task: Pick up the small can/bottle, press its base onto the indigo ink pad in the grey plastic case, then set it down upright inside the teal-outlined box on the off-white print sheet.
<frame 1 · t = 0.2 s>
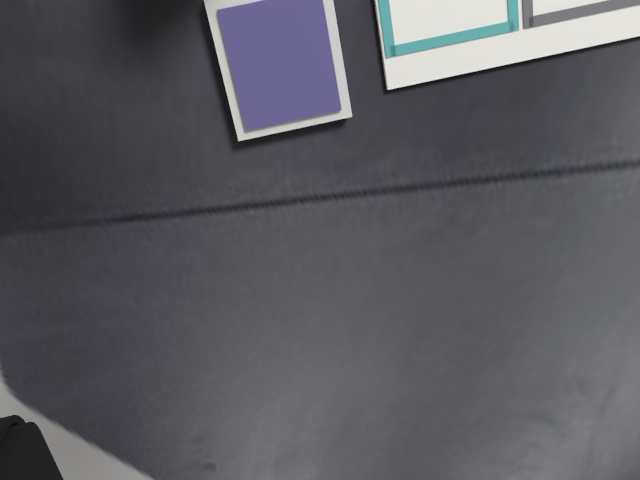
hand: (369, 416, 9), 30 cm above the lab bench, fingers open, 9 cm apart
ink pad: (280, 59, 36), on the lab bench
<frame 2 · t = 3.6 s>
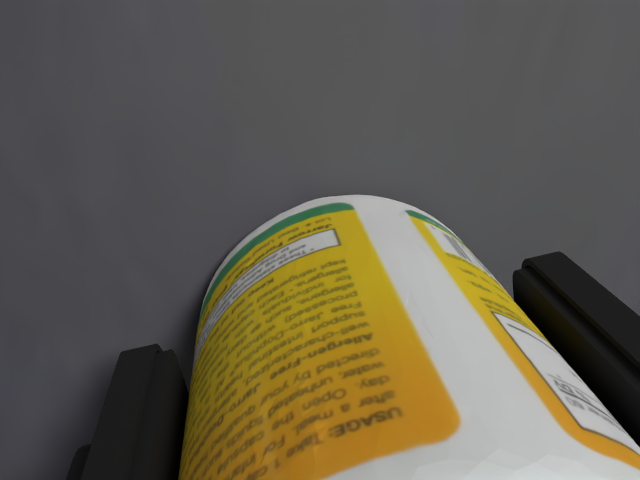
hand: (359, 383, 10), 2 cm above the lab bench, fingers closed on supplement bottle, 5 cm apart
supplement bottle: (338, 315, 12), on the lab bench, touching gripper
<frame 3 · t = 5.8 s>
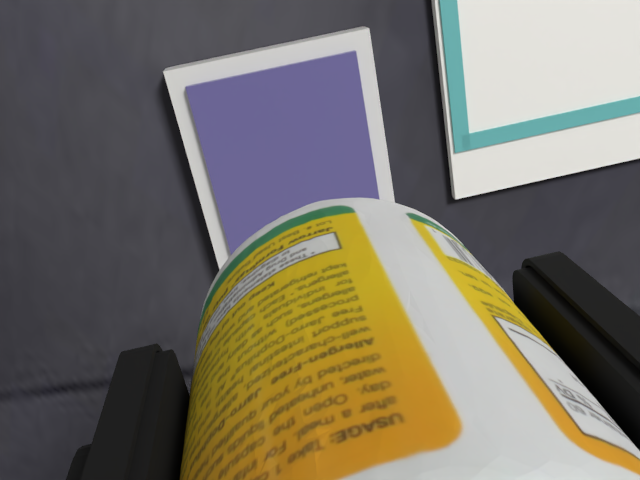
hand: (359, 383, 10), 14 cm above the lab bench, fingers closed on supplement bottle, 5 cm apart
ink pad: (289, 156, 23), on the lab bench
supplement bottle: (339, 318, 12), point 12 cm above the lab bench, touching gripper
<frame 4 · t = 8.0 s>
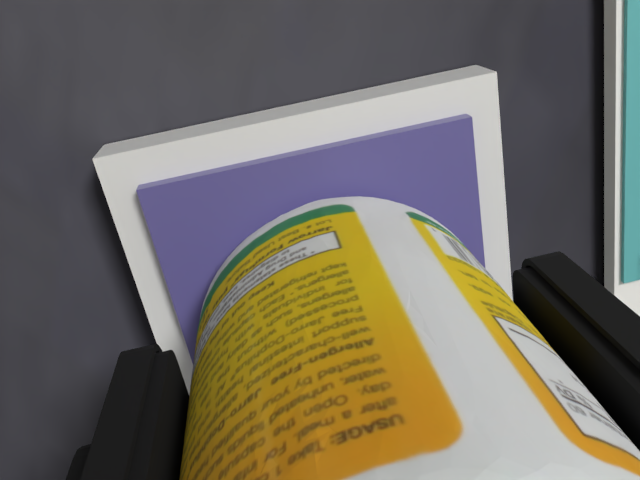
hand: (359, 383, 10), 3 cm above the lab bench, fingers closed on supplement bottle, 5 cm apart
ink pad: (330, 292, 13), on the lab bench
supplement bottle: (338, 316, 12), point 1 cm above the lab bench, touching gripper, ink pad
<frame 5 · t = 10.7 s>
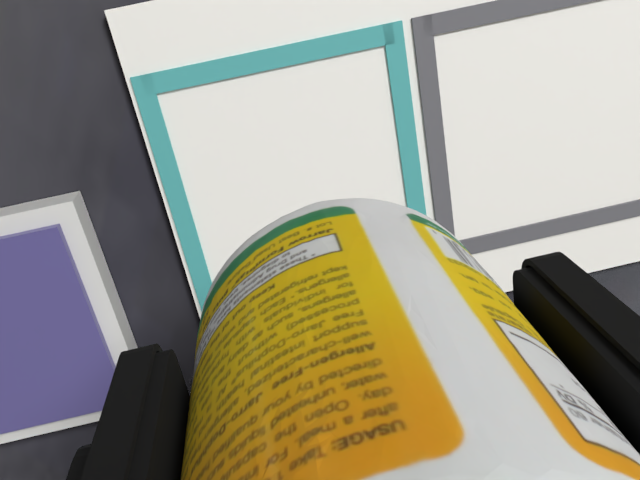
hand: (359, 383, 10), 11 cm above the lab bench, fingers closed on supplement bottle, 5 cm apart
ink pad: (18, 321, 21), on the lab bench
print sheet: (418, 147, 20), on the lab bench
supplement bottle: (338, 317, 12), point 9 cm above the lab bench, touching gripper
when the fingers open (3 cm above the lab bench, at t = 12.9 s): supplement bottle stays where it is, resting on print sheet.
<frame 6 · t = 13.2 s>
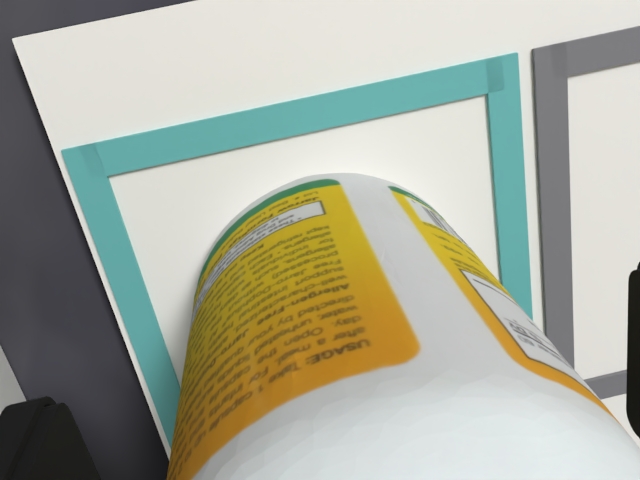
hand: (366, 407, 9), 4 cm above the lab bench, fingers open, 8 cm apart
print sheet: (525, 246, 13), on the lab bench
supplement bottle: (327, 289, 13), resting on print sheet
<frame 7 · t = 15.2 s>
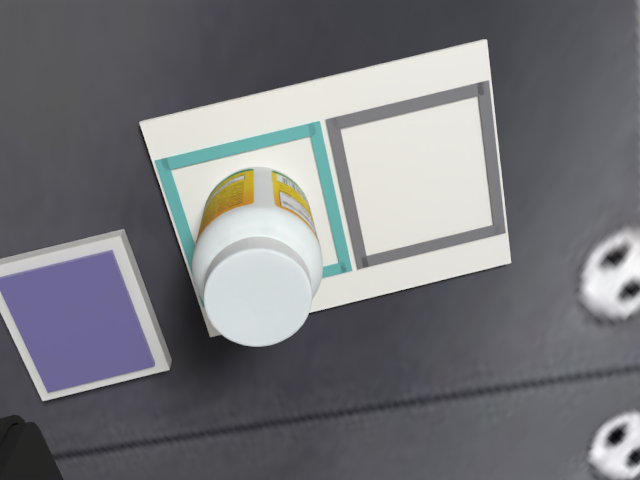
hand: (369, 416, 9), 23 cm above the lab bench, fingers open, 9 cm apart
ink pad: (84, 313, 33), on the lab bench
print sheet: (338, 196, 32), on the lab bench
supplement bottle: (256, 214, 31), resting on print sheet
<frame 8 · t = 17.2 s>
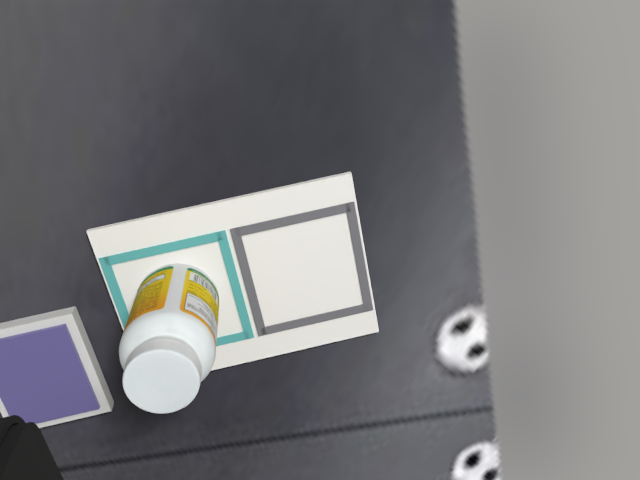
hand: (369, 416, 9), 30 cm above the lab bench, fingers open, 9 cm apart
ink pad: (44, 367, 42), on the lab bench
print sheet: (242, 282, 41), on the lab bench
supplement bottle: (178, 295, 41), resting on print sheet
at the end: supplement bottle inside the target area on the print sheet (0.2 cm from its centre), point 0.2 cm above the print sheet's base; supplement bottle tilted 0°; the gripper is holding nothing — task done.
